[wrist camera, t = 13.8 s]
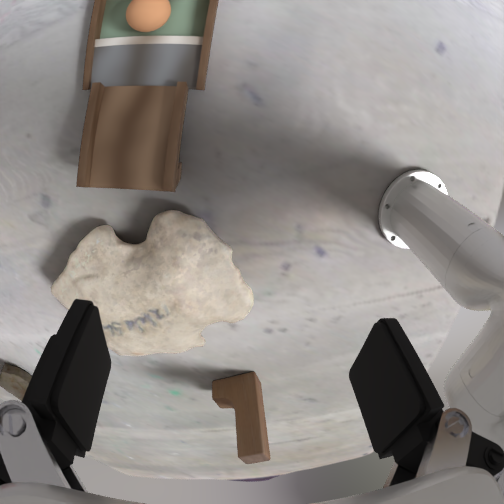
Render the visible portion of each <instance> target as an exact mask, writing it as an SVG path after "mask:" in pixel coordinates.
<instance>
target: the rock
mask: <svg viewBox="0 0 504 504" xmlns="http://www.w3.org/2000/svg"><path fill="white" fill-rule="evenodd" d="M51 292H52V294H53V295H54V296H55V297H56V298H57V299H58V300H59V301H60V303H61V304H62V305H63V306H65V307H66V308H67V309H68V310H69V309H70V307H71V305H72V303H73V301H74V300H75V299H82V300H89V301H92V302H93V304H94V306H97V307H98V309H99V313H100V318H101V322H102V327H103V331H104V335H105V339H106V343H107V347H108V348H110V349H111V350H112V351H114V352H115V353H117V354H118V355H120V356H145V355H149V354H155V353H172V354H177V353H181V352H185V351H187V350H189V349H192V348H194V347H202V346H204V345H205V342H206V341H205V339H204V338H203V337H202V336H201V332H202V330H203V329H204V328H205V327H206V326H208V325H210V324H213V323H216V322H220V321H224V322H229V323H235V322H238V321H240V320H243V319H244V318H245V317H246V315H247V314H248V313H249V312H250V310H251V308H252V306H253V303H254V298H253V292H252V289H251V288H250V287H249V286H248V285H247V284H246V283H245V281H244V280H243V278H242V276H241V272H240V270H239V269H238V268H237V267H236V266H235V265H234V264H233V262H232V248H231V247H230V246H229V245H228V244H226V243H224V242H223V241H222V240H221V239H220V238H219V237H218V236H217V235H216V234H215V233H214V232H213V231H212V230H211V229H210V228H209V227H208V225H207V224H206V222H205V221H204V220H203V219H201V218H197V217H195V216H192V215H187V214H184V213H183V212H181V211H177V210H168V211H164V212H161V213H159V214H158V215H156V216H155V217H154V218H153V220H152V222H151V225H150V228H149V231H148V233H147V238H146V240H145V241H144V242H142V243H140V244H128V243H125V242H123V241H122V240H120V239H119V238H118V237H117V236H116V234H115V232H114V230H113V228H112V227H111V226H109V225H102V226H98V227H96V228H95V229H93V230H92V231H91V232H90V233H89V234H87V235H86V236H85V237H84V238H83V239H82V240H81V241H80V242H79V244H78V246H77V248H76V250H75V251H74V252H72V253H71V254H70V256H69V259H68V262H67V265H66V267H65V269H64V271H63V272H62V273H61V274H60V275H59V277H58V279H57V280H56V281H55V282H54V283H53V285H52V287H51Z"/></svg>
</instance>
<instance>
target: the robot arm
mask: <svg viewBox="0 0 504 504" xmlns="http://www.w3.org/2000/svg"><path fill="white" fill-rule="evenodd" d="M379 225H380V229H381V231H382V233H383V235H384V236H385V238H386V239H387V240H388V241H389V242H390V243H391V244H393V245H394V246H397V247H399V248H405V249H408V248H410V250H411V251H412V252H413V253H414V254H415V255H416V256H417V257H418V258H419V259H420V261H421V262H422V263H423V264H424V265H425V266H426V267H427V269H428V270H429V271H430V272H431V273H432V274H433V275H434V277H435V278H436V279H437V280H438V281H439V282H440V284H441V285H442V286H443V287H444V288H445V290H446V291H447V292H448V293H449V294H450V295H451V297H452V298H453V299H454V300H455V301H456V302H457V303H458V304H459V305H461V306H462V307H464V308H466V309H470V310H476V311H485V310H486V311H487V310H491V314H490V317H489V318H488V320H487V322H486V323H485V325H484V326H483V328H482V330H481V331H480V332H479V334H478V335H477V336H476V338H475V339H474V340H473V341H472V343H471V344H470V345H469V347H468V348H467V349H466V350H465V352H464V353H463V354H462V355H461V357H460V358H459V359H458V360H457V362H456V363H455V364H454V365H453V367H452V368H451V370H450V371H449V373H448V375H447V377H446V380H445V384H444V394H445V399H446V402H447V404H448V406H449V407H450V408H449V409H447V410H445V411H444V412H443V410H442V408H443V407H444V404H443V402H442V400H441V398H440V396H439V394H438V392H437V390H436V388H435V386H434V385H433V383H432V381H431V379H430V377H429V375H428V373H427V371H426V369H425V368H424V366H423V364H422V362H421V360H420V359H419V357H418V355H417V353H416V351H415V350H414V348H413V346H412V344H411V343H410V341H409V339H408V337H407V336H406V334H405V332H404V331H403V329H402V327H401V325H400V324H399V322H398V321H397V319H395V318H382V319H380V320H379V321H378V322H377V323H375V324H374V326H373V328H372V330H371V331H370V333H369V335H368V337H367V339H366V341H365V343H364V345H363V347H362V349H361V351H360V353H359V354H358V356H357V358H356V360H355V362H354V364H353V365H352V367H351V369H350V372H349V378H350V381H351V384H352V387H353V390H354V393H355V396H356V399H357V401H358V404H359V407H360V410H361V413H362V416H363V419H364V422H365V425H366V428H367V431H368V434H369V437H370V440H371V443H372V446H373V449H374V451H375V452H376V453H378V454H379V458H380V459H382V458H386V457H390V456H394V459H395V462H394V464H393V466H392V469H391V471H390V473H389V476H388V478H387V480H386V482H385V484H384V486H383V488H382V489H378V490H375V491H371V492H367V493H363V494H359V495H354V496H350V497H345V498H341V499H335V500H329V501H324V502H318V503H311V504H504V236H503V235H502V234H501V233H500V232H498V231H497V230H496V229H494V228H493V227H492V226H490V225H489V224H488V223H487V222H485V221H484V220H483V219H481V218H480V217H478V216H477V215H476V214H474V213H473V212H472V211H470V210H469V209H467V208H466V207H465V206H463V205H462V204H460V203H459V202H457V201H456V200H454V199H453V198H451V197H450V196H448V195H447V191H446V188H445V186H444V184H443V182H442V181H441V180H440V178H438V177H437V176H436V175H434V174H433V173H431V172H429V171H425V170H412V171H408V172H406V173H404V174H402V175H401V176H399V177H398V178H396V179H395V180H394V181H393V182H392V183H391V184H390V186H389V187H388V189H387V190H386V192H385V194H384V195H383V197H382V200H381V203H380V207H379ZM110 369H111V358H110V355H109V351H108V347H107V343H106V339H105V335H104V331H103V327H102V322H101V318H100V313H99V309H98V307H97V306H94V304H93V302H92V301H89V300H82V299H75V300H74V301H73V303H72V305H71V307H70V309H69V311H68V312H67V314H66V316H65V318H64V320H63V322H62V324H61V326H60V328H59V330H58V332H57V334H56V335H53V336H51V338H50V339H49V341H48V343H47V345H46V347H45V349H44V351H43V353H42V355H41V358H40V360H39V362H38V364H37V366H36V369H35V371H34V373H33V375H32V378H31V380H30V382H29V385H28V387H27V390H26V392H25V395H24V397H23V400H22V402H19V401H16V400H9V401H5V402H3V403H1V404H0V504H145V503H138V502H131V501H126V500H120V499H115V498H110V497H104V496H100V495H96V494H91V493H88V491H87V490H86V488H85V487H84V485H83V483H82V482H81V480H80V478H79V477H78V475H77V473H76V471H75V470H74V468H73V466H72V464H73V460H74V456H75V455H76V456H80V457H83V458H84V457H85V452H86V451H90V449H91V446H92V441H93V437H94V432H95V428H96V423H97V419H98V415H99V411H100V407H101V403H102V399H103V395H104V391H105V387H106V384H107V380H108V376H109V373H110Z"/></svg>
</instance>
